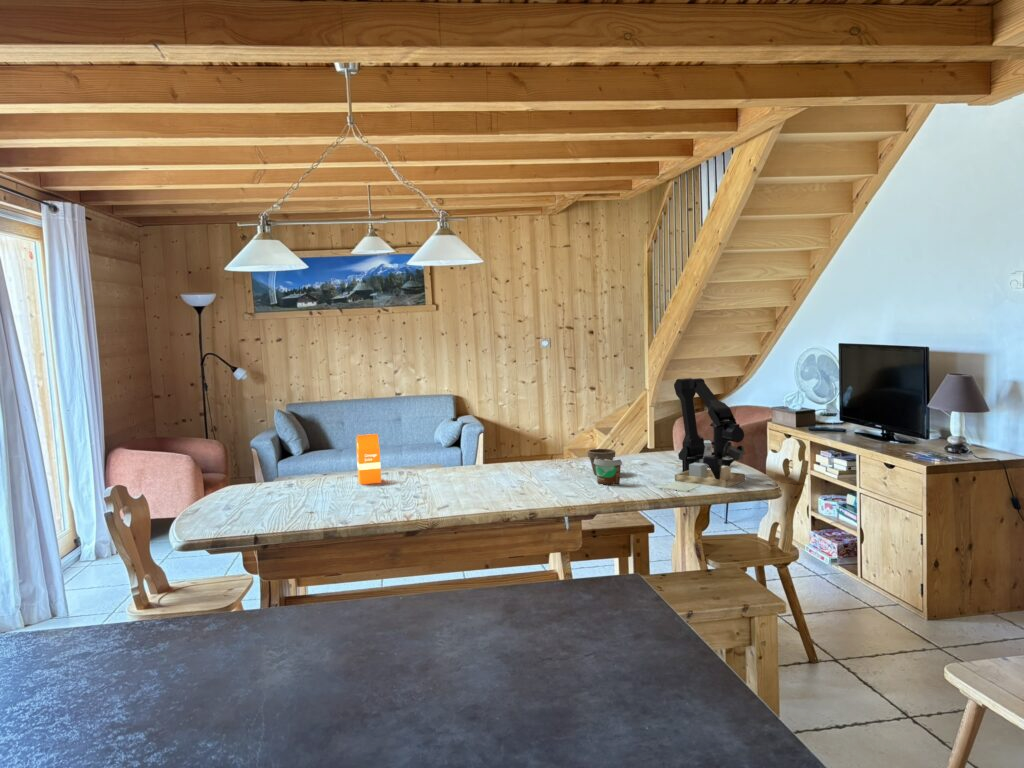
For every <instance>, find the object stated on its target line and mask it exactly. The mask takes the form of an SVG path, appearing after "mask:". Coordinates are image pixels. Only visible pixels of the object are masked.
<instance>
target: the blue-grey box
mask: <svg viewBox="0 0 1024 768" xmlns="http://www.w3.org/2000/svg"><path fill="white" fill-rule="evenodd" d="M707 470H708V467H707V464H704V463H692V464H689V476H693V477H702V478H707Z"/></svg>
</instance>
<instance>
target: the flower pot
mask: <svg viewBox="0 0 1024 768" xmlns="http://www.w3.org/2000/svg"><path fill="white" fill-rule="evenodd" d="M587 457H588V458H589V460H590V463H591V468H592V472H593V474H594V475H595V476H597V474H596V465H595V464H594V459H595V457H598V459H610V460H614V458H615V457H616V450H615V449H611V448H593V449H589V450H587Z"/></svg>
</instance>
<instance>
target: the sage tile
mask: <svg viewBox="0 0 1024 768" xmlns="http://www.w3.org/2000/svg"><path fill="white" fill-rule="evenodd" d="M701 486H702V485H701V484H693V483H686V482H678V481H674V482H671V483H669V484H666V485H664V486H661V487H660V489H661V488H664V489H663V490H667V489H670V490H669V491H674V490H677V492H681V491H684V492H683V493H689V492H690V491H691V490H694V489H696V488H700V487H701Z"/></svg>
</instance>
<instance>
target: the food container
mask: <svg viewBox="0 0 1024 768" xmlns="http://www.w3.org/2000/svg"><path fill="white" fill-rule="evenodd" d="M594 464H595V465H596V474H597V475H596V482H597V485H600V484H603V485H602V486H614V485H613V484H618V485H620V484H621V483H620V480H621V467H622V465H623V462H622V459H620V458H619V459H613V460H610V459H598V457H595V459H594Z"/></svg>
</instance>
